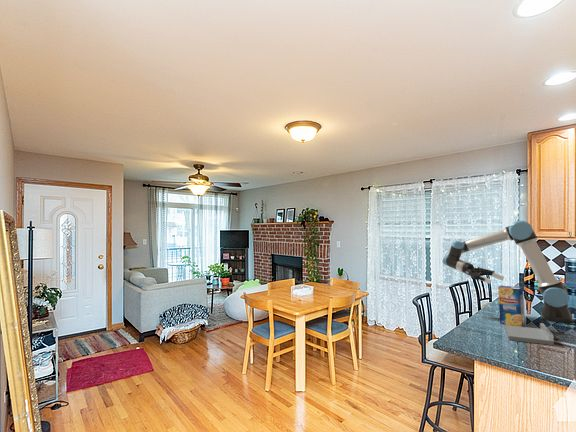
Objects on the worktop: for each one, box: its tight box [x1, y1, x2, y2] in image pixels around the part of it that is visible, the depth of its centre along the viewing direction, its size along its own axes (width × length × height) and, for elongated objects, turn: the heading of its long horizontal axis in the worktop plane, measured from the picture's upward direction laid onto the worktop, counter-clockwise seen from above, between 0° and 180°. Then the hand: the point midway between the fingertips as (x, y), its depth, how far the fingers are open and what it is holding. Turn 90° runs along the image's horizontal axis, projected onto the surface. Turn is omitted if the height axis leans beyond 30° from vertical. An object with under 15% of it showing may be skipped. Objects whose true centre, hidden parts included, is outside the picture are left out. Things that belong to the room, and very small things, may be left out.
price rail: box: [539, 322, 555, 341], centre depth 164 cm, size 22×2×3 cm, turn 151°
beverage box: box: [497, 285, 526, 327], centre depth 190 cm, size 7×11×22 cm, turn 41°
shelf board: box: [503, 324, 555, 346], centre depth 167 cm, size 22×18×2 cm
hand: (497, 280), depth 199 cm, fingers open, 13 cm apart
